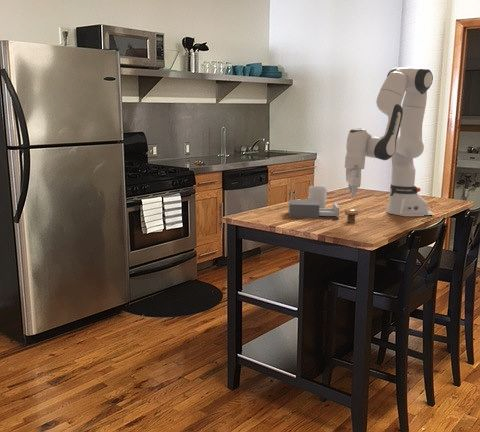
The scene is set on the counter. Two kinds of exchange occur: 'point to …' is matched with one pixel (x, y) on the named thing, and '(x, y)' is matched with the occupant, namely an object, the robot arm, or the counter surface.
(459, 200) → the counter surface
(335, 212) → the white bracket
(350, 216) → the pedestal
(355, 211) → the disc
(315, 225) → the counter surface
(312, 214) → the housing
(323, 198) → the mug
